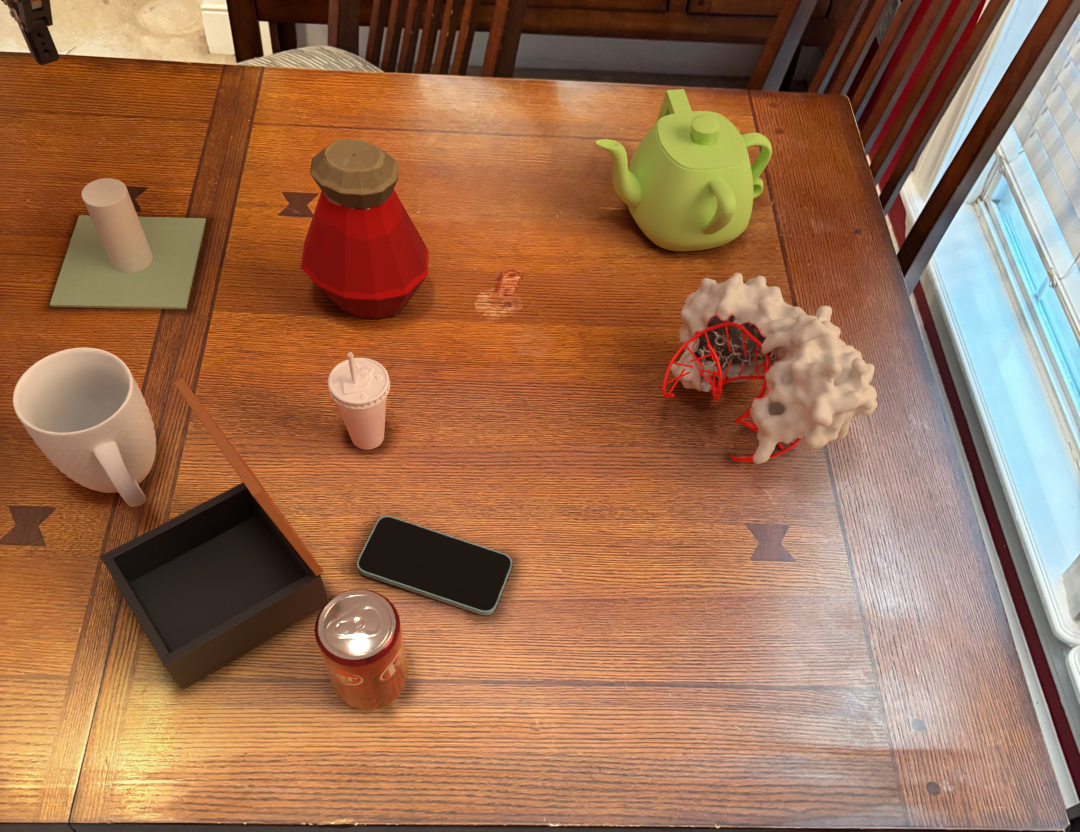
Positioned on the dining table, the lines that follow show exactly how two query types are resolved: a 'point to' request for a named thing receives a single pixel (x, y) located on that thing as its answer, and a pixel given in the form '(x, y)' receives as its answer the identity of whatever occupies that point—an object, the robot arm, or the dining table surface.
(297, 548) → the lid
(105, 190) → the white cylinder
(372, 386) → the smoothie
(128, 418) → the mug
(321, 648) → the soda can
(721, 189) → the teapot
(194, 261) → the mat
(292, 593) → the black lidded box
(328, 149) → the bottle
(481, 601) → the smartphone
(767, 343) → the protein dna model
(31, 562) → the dining table surface
